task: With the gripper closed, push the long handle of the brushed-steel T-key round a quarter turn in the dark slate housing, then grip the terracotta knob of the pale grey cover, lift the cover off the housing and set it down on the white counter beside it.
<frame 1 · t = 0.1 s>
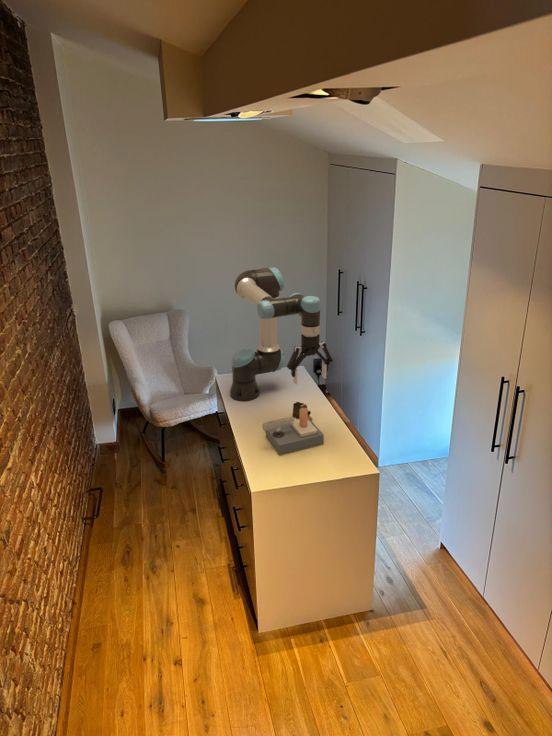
hand: (309, 380, 233), 28 cm above the table, fingers open, 13 cm apart
housing: (294, 440, 242), on the table
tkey: (278, 427, 235), point 9 cm above the table, hinge at 0.0°
cover: (303, 428, 241), point 5 cm above the table, touching housing
electronic device: (302, 418, 259), on the table
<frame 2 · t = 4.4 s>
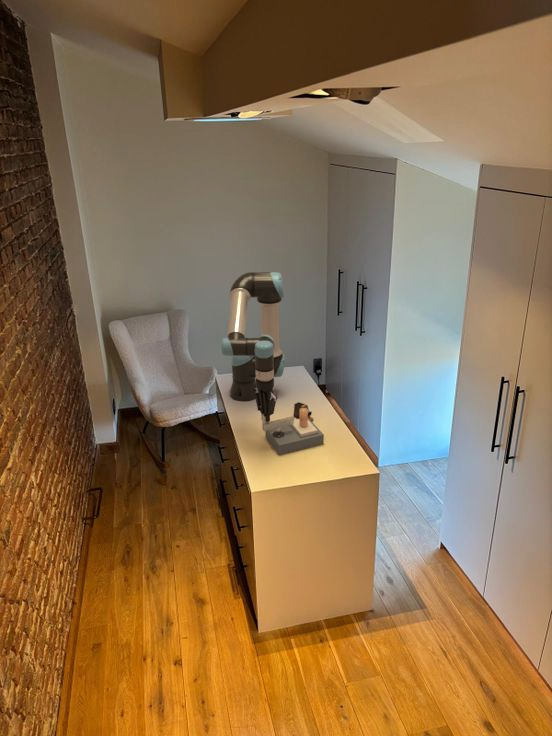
hand: (265, 426, 234), 9 cm above the table, fingers closed
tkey: (278, 427, 235), point 9 cm above the table, hinge at 0.0°, touching gripper
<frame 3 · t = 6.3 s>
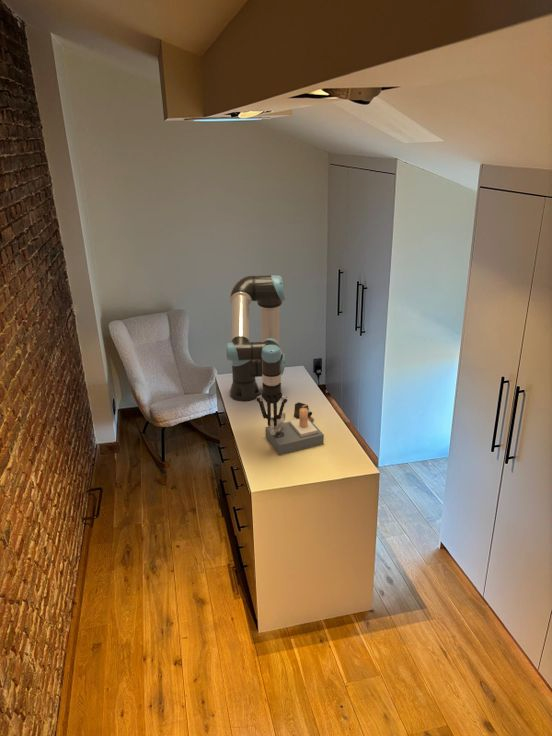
hand: (272, 432, 231), 9 cm above the table, fingers closed
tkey: (278, 427, 235), point 9 cm above the table, hinge at 47.8°, touching gripper
everything else where it was.
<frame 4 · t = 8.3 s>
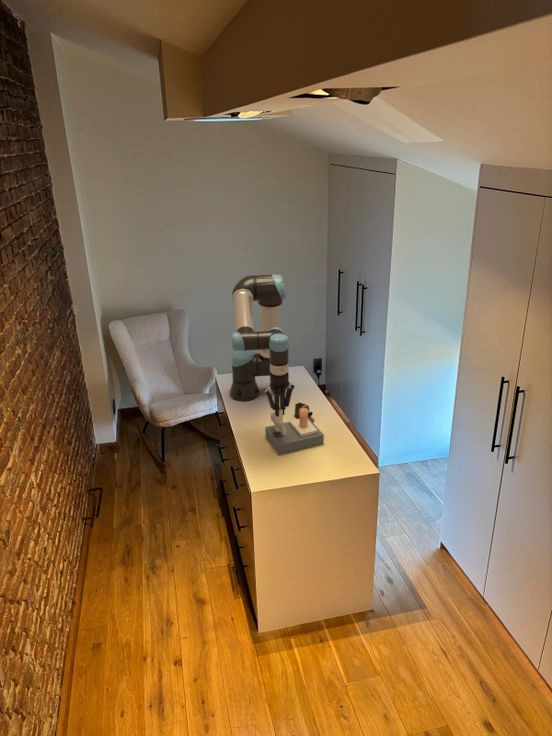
hand: (279, 421, 229), 14 cm above the table, fingers closed
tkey: (278, 427, 235), point 9 cm above the table, hinge at 89.3°
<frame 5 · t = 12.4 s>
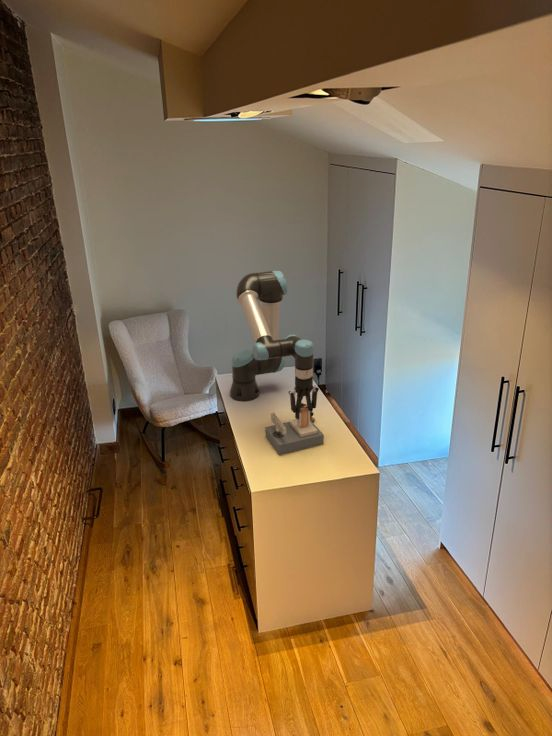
hand: (303, 423, 240), 8 cm above the table, fingers closed on cover, 3 cm apart
cover: (303, 428, 241), point 5 cm above the table, touching gripper
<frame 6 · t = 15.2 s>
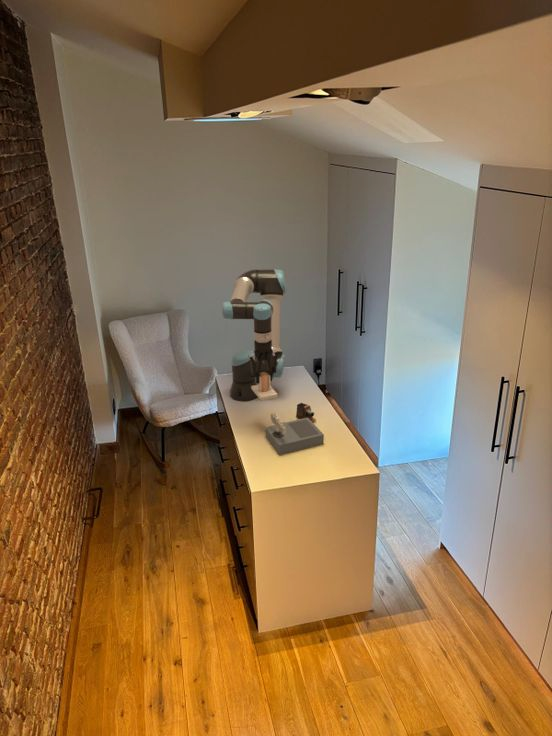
hand: (264, 388, 244), 20 cm above the table, fingers closed on cover, 3 cm apart
cover: (264, 392, 245), point 18 cm above the table, touching gripper
when the fingers open (5 cm above the table, at t = 18.1 s): cover drops 3 cm, on the table.
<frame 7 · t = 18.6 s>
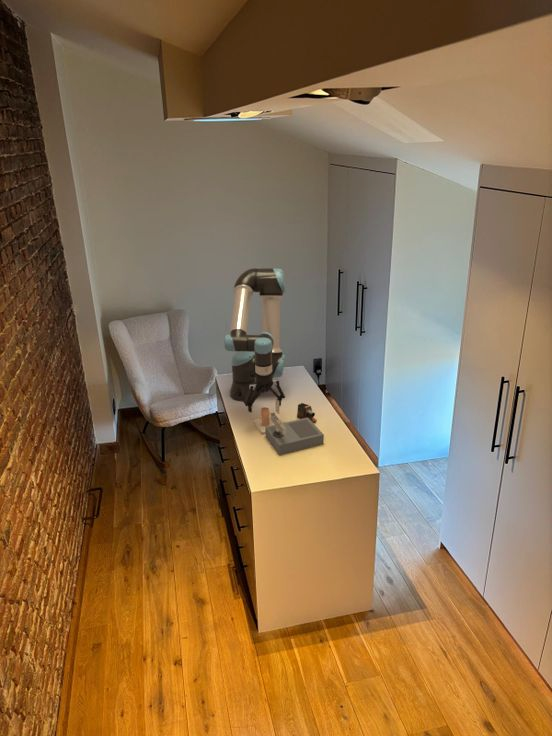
hand: (264, 414, 250), 6 cm above the table, fingers open, 12 cm apart
cover: (265, 427, 253), on the table
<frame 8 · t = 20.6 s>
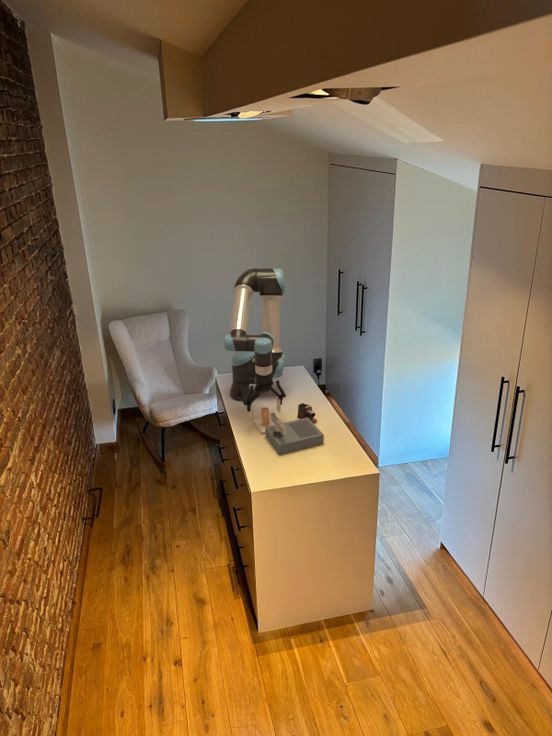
hand: (264, 414, 250), 7 cm above the table, fingers open, 13 cm apart
at the end: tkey at +89° (first picture: +0°); cover inside the target area (0.1 cm from its centre), on the table; cover touching table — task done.
